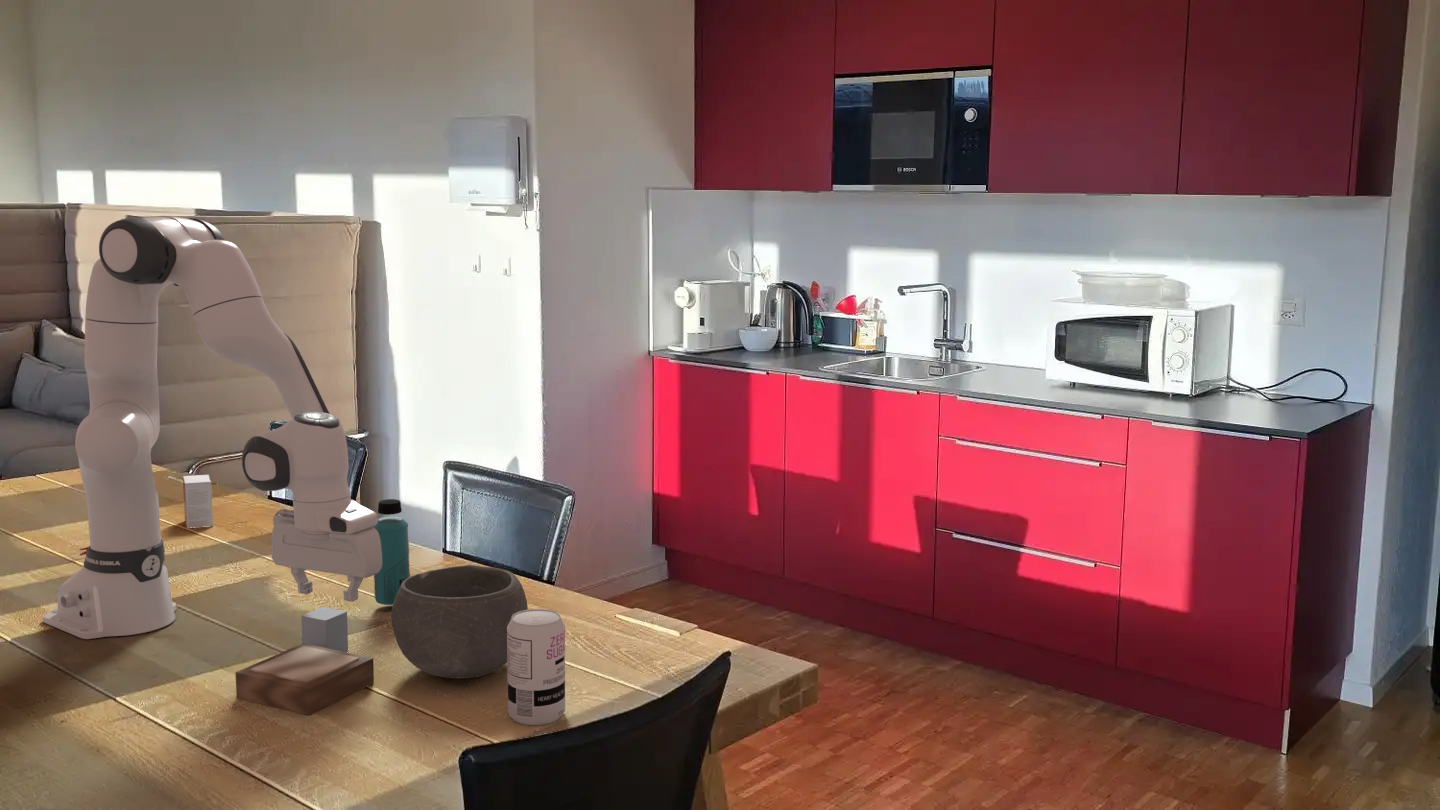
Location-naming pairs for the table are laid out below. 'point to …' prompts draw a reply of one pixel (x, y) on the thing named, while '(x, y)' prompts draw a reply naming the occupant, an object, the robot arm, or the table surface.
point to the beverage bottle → (391, 552)
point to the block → (326, 629)
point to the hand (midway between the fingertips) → (328, 596)
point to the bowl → (457, 619)
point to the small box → (197, 501)
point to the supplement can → (536, 667)
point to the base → (304, 678)
